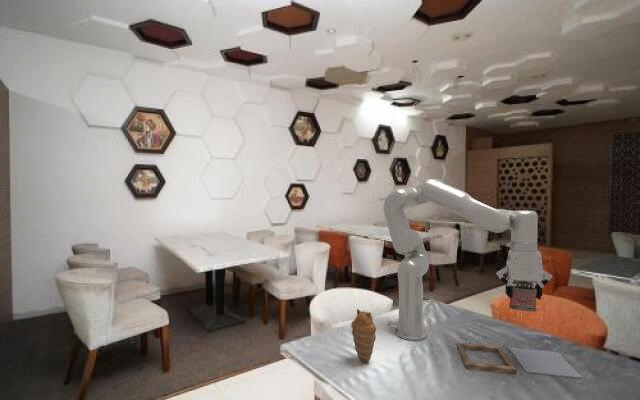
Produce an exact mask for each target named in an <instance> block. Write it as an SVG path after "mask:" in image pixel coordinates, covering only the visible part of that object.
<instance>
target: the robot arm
mask: <svg viewBox="0 0 640 400" xmlns="http://www.w3.org/2000/svg"><path fill="white" fill-rule="evenodd" d="M430 202H431V203H432V204H435V205H438V206H439V207H442V208H444V209H445V210H448V211H450V212H453V213H454V214H456V215H457V216H459V217H461V218H463V219H465V220H467V221H469V222H470V223H473V224H474V225H476V226H479V227H481V228H483V229H485V230H487V231H489V232H492V233H496V234H497V233H498V234H499V233H503V232H505V231H506V230H510V231H511V232H510V235H511V237H510V242H507V243H506V247H507V248H509V250H508V253H507V259H506V265H505V266H504V268H501V269H500V270H498V271H497V272H496V275H497V276H498V278H499V279H500V280H501V281H502V283H504V284H505V295H506V296H507V297H508V298H509V299H510V298H512V286H511V285H512V284H513V282H514V281H527V282H533V283H535V284H536V285H534V288H536V289H537V292H536V300H541V301H542V297H543V288H545V286H546V285H547V284H548V283H549V282H550V280H551V279H552V278H553V275H552V274H551V273H549V272H547V271H546V270H544V268H543V267H544V266H543V259H542V254H541V251H538V212H537V211H535V210H523V209H520V210H509V209H504V208H493V207H492V206H489V205H487V204H485V203H482V202H481V201H478V200H477V199H475V198H473V197H472V196H471V195H470V194H468V193H467V192H466V191H463V190H461V189H459V188H457V187H454V186H452V185H448V184H447V183H444V182H443V181H442V179H438V178H427V179H424V180H423V181H422V182H421V183H419V184H416V185H412V186H410V187H398V188H396V189H393V190H392V191H391V192H389V194H387V196H386V198H385V199H384V202H383V213H384V217H385V221H386V224H387V227H388V232H389V236H390V239H391V243H392V246H393V249H394V250H395V252H396V253H397V254H399V255H404V258H403V259H402V260H401V261H400V262H399V264H398V267H397V280H398V319H397V320H395V321H393V320H392V321H390V320H387V326H388V327H390V329H394V333H395V335H396V336H398V337H400V338H401V339H404V340H408V341H421V340H424V339H425V338H427V331H426V329H424V326H423V325H424V323H423V322H424V320H423V319H424V318H423V317H424V287H423V286H424V285H423V276H424V275H425V274H426V273H427V272H428V271H429V267H430V263H429V257H428V255H427V251H426V248H425V246H424V241H423V238H422V236H421V235H420V233H419V232H418V231H416V230H415V229H412V228H411V226H410V222H409V220H408V217H407V215H406V212H405V210H406V209H408V208H409V209H410V208H413V207H416V206H419V205H420V206H421V205H424V204H427V203H430ZM504 274H506V278H505V277H504Z"/></svg>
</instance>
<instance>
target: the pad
mask: <svg viewBox="0 0 640 400" xmlns="http://www.w3.org/2000/svg"><path fill="white" fill-rule="evenodd" d="M508 350H509V351H510V353H511V355H513V356H514V358H515V359H516V361H517V363H518V364H519V365H520V366H521V368H522V370H523V371H524V372H525V373H526V374H534V375H542V376H543V375H544V376H552V377H562V378H572V379H580V380H581V379H583V380H584V377H583V376H582V375H581V374H580V373H579V372H578V371H577V370H576V369H575V368H574V367H573V366H572V365H571V364H570V363H569V362H568V361H567V360H566V359H565V358H564V357H563V356H562V355H561V354H560V353H559V352H558V351H550V350H539V349H529V348H520V347H519V348H518V347H517V348H516V347H508Z"/></svg>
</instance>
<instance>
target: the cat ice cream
mask: <svg viewBox="0 0 640 400" xmlns="http://www.w3.org/2000/svg"><path fill="white" fill-rule="evenodd" d="M350 326H351V334H352V336H353V337H352V338H353V340H352V341H353V343H354V349H355V352H356V355H357V358H358V359H359V361H361V362H363V363H367V362H370V360H371V359H372V355H373V353H374V352H373V350H374V346H375V341H376V339H377V336H376V332H377V327H376V325H375V323H374V318H373V316H372V314H371V312H368V311H364V310H363V311H361V310H360V309H358V308H356V317H355V319H353V320H352V322H351V325H350Z"/></svg>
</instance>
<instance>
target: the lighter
mask: <svg viewBox="0 0 640 400" xmlns="http://www.w3.org/2000/svg"><path fill="white" fill-rule="evenodd" d="M512 284H513V285H512ZM512 284H511V286H512V298H509V304H508V308H509V309H511V310H516V311H522V312H533V313H534V312H537V298H536V292H537V289H536V288H535V287H534V282H529V281H514V282H513V283H512Z"/></svg>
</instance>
